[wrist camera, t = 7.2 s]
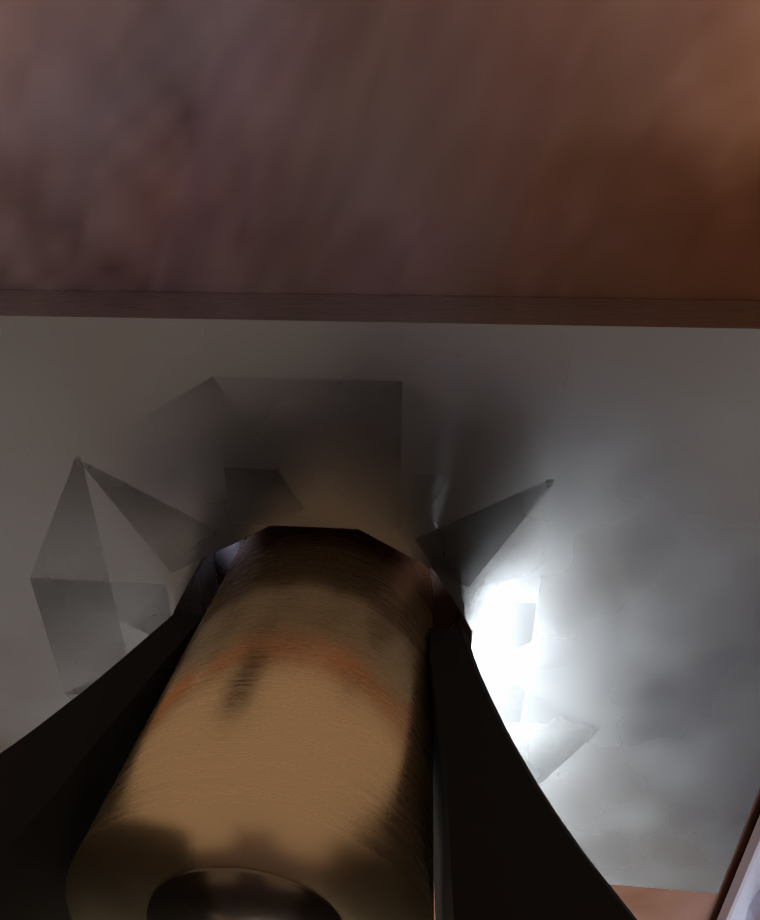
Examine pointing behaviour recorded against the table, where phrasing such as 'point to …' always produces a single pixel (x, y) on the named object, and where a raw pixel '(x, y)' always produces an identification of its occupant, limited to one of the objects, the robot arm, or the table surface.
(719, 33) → the table surface
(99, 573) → the jig
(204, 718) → the bushing
